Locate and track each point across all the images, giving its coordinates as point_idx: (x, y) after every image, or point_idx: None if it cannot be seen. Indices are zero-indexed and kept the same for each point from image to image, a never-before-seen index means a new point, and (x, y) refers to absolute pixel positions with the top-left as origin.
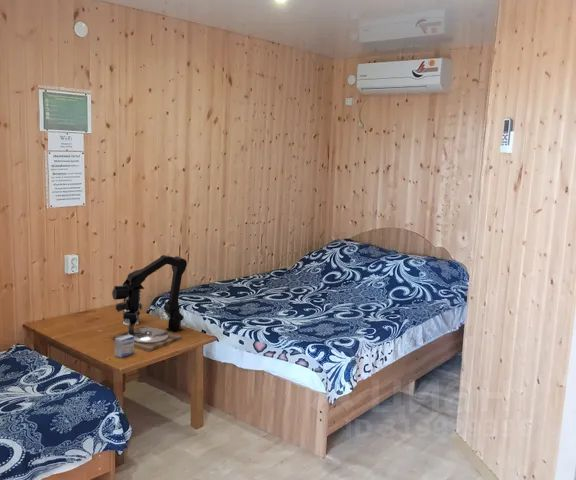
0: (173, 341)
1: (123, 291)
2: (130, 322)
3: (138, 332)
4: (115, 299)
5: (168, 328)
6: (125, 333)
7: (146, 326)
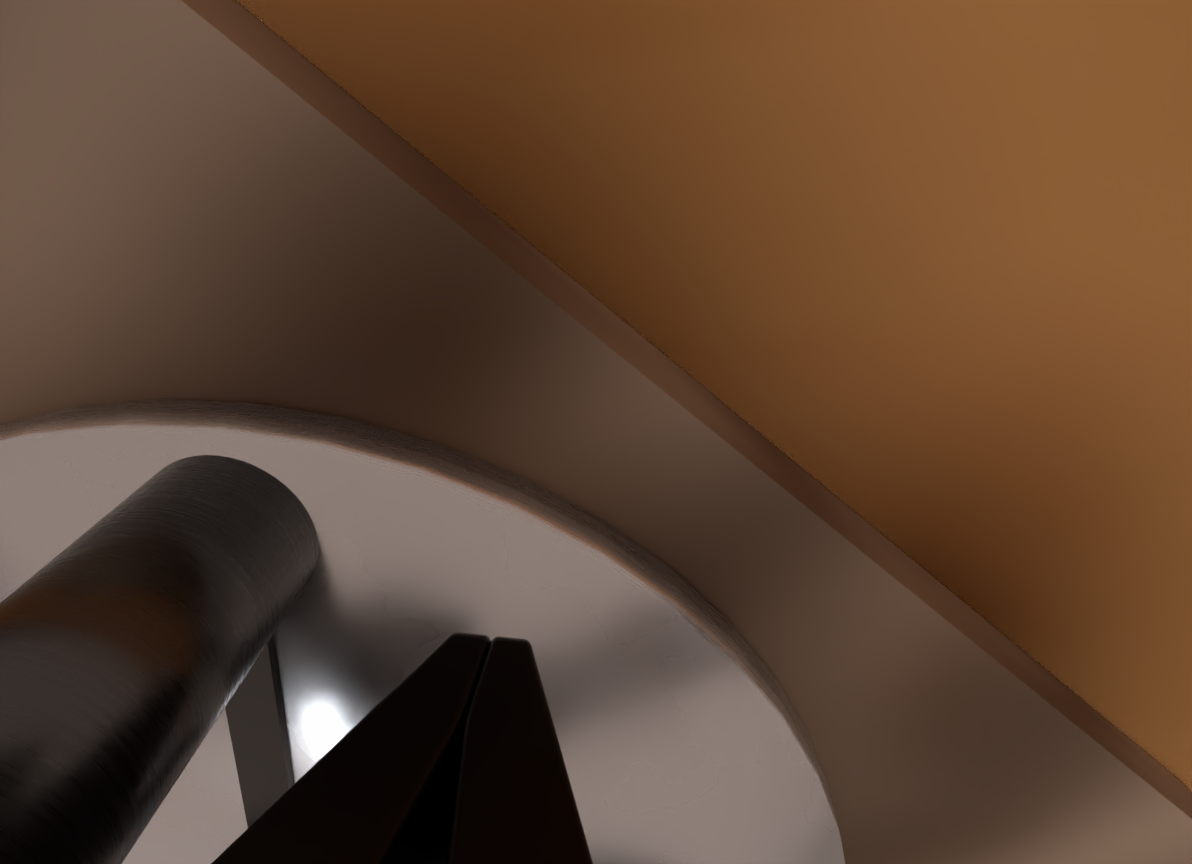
0: None
1: None
2: (250, 837)
3: None
4: None
5: None
6: (431, 295)
7: (1129, 839)
